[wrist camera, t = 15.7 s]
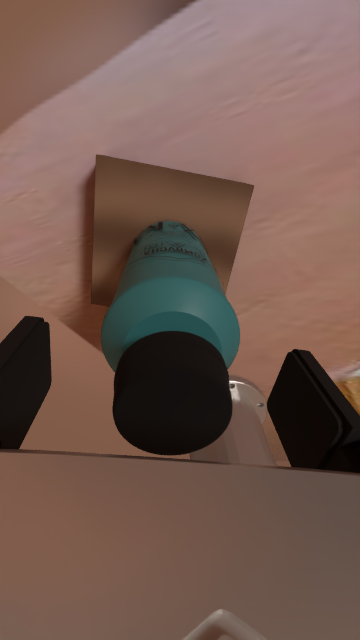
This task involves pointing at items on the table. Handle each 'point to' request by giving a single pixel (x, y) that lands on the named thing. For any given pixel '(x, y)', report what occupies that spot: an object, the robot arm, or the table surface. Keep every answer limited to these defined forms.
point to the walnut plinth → (161, 216)
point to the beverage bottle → (170, 344)
